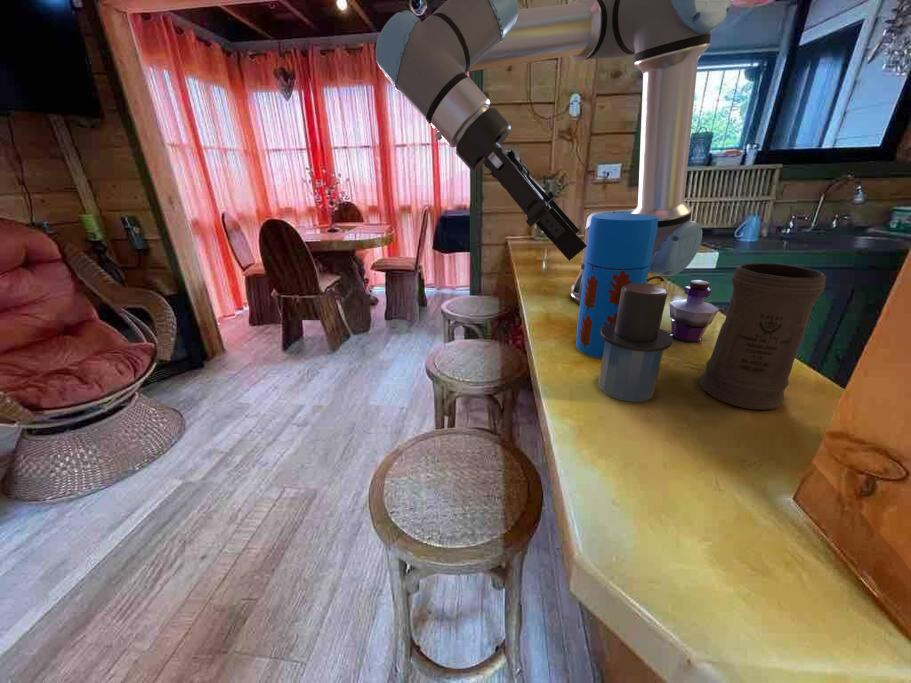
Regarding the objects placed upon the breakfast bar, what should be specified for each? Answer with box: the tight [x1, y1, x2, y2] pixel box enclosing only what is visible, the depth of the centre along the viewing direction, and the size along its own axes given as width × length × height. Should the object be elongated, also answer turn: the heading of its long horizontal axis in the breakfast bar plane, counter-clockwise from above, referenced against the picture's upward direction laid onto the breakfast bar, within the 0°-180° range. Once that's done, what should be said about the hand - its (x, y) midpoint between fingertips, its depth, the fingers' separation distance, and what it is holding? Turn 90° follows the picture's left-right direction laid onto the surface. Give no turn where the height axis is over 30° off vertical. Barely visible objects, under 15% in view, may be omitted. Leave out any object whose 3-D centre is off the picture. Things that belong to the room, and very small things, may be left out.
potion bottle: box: [669, 279, 720, 343], centre depth 76 cm, size 9×9×12 cm
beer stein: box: [699, 262, 827, 411], centre depth 57 cm, size 15×11×20 cm
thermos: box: [575, 213, 658, 360], centre depth 69 cm, size 11×11×25 cm
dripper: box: [600, 283, 674, 352], centre depth 56 cm, size 10×10×10 cm
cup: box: [598, 341, 665, 403], centre depth 59 cm, size 8×8×9 cm
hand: (575, 244), depth 54 cm, fingers open, 13 cm apart
